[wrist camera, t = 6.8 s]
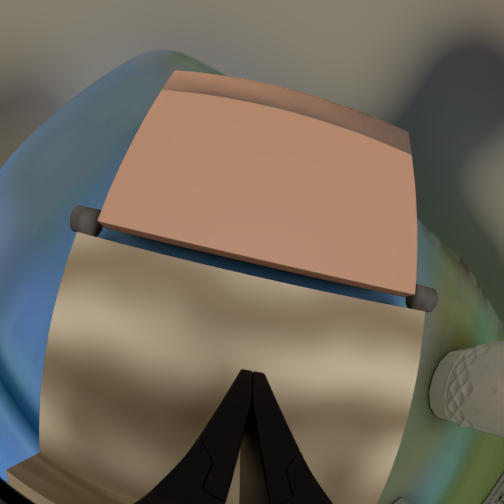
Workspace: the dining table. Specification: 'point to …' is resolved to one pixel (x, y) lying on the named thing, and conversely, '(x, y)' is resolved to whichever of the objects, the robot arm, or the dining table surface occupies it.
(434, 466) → the dining table surface
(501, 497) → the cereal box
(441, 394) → the white cup
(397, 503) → the supplement box
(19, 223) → the dining table surface
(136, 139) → the panel
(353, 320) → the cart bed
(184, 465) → the robot arm
